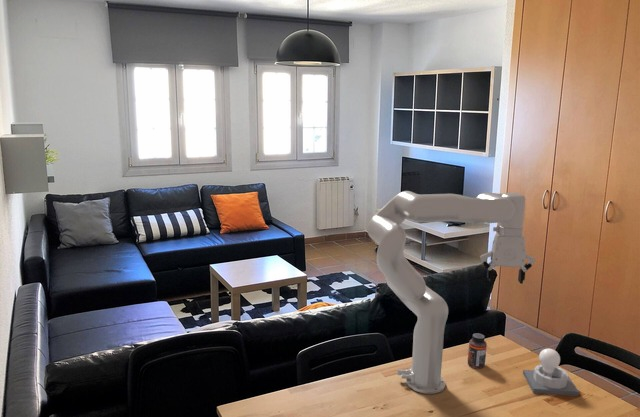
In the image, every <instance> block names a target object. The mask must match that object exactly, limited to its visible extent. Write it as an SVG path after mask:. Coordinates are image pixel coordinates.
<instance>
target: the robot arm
mask: <svg viewBox="0 0 640 417" xmlns="http://www.w3.org/2000/svg"><path fill="white" fill-rule="evenodd" d="M525 209H526V197H525V195H523V194H522V193H517V192H505V193H496V192H482V193H480V194H478V195H477V196H476V197H470V196H466V195H463V194H459V193H458V194H456V193H432V194H426V193H425V194H418V193H416V192H414V191H410V190H404V191H401V192H399V193H398V194H396V195H395V196H393V197H392V198H391V199H390V200H388V202H386V204H385V205H384V206H382V207H381V208H380V209H379V210H378V211H377V212H376V213H375V214H374V215H373V216H372V217H371V218H370V220H369V221H368V224H367V227H366V230H367V234H368V236H369V238H370V239H371V240H372V241H373V242H374V243H376V244H378V246H377V250H376V260H375V261H376V265H377V267H378V269H379V271H380V272H381V274H382V275H383V276H384V277H385V282H386V285H387V286H388V287H389V288H390V290H391V291H392V292H393V293H394V294H395V295H396V296H397V297H398V298H399V300H400V301H401V302H402V303H403V304H404V305H405V306H406V307H407V308H408V309H409V310H410V311H412V312H411V313H413V314H414V315H415V316H416V317H417V321H416V323H415V326H414V329H413V337H412V340H413V342H412V354H411V355H412V356H411V357H412V358H411V359H412V360H411V365H410V366H409V368H406V369H402V368H401V369H400V368H398V369H397V370H396V371H397V373H396V374H397V376H400V377H401V379H404V380H405V379H406V380H405V382H406V385H407V386H408V387H409V388H410V389H411V390H413V391H414V392H417V393H421V394H424V395H426V394H427V395H433V394H434V395H435V394H438V393H440V392H443V390H445V388H446V380H445V379H444V377H442V369H443V368H442V366H443V352H444V351H443V350H444V334H445V328H446V322H447V320H448V315H449V306H448V304H447V302H446V301H445V299H444V298H443V297H442V296H440V295H439V294H438V293H437V292H435V291H434V290H433V289H431V288H430V287H429V286H428V285H426V281H425V279H424V277H423V276H422V275H421V274H420V273H419V272H418V271H417V269H416V268H415V267H414V266H413V265H412V264H411V263H410V262H409V261H408V259H407V258H406V257H405V255H404V249H405V246H406V242H407V234H406V231H405V229H404V228H403V226H402V225H401V224H403V222H404V221H405V220H408V221H410V222H411V223H417V224H418V223H419V224H421V223H441V222H455V223H456V222H458V223H472V224H473V223H475V224H497V226H495V227H493V228H492V230H493V232H495V234H494V238H493V241H492V245H491V246H492V247H491V251H488V252H485V253H484V254H481V255H479V258H480V261H481V262H482V264H483V266H484V267H485V268H486V269H487V271H486V279H488V281H489V283H493V280H494V270H493V269H494V268H495V267H504V268H505V267H506V268H519V270H518V278H517V280H518V282H519V284H521V285H523V284H524V281H525V279H526V272H527V271H528V270H529V269H531V268H532V265H534V263H535V262H536V258H535V257H533V256H532V255H529V254H528V253H527V252H526V238H525V235H523V229H524V219H525V211H526V210H525ZM488 258H490V262H489V263H488V262H487V259H488ZM526 259H527V261H528V262H526Z"/></svg>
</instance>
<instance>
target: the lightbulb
mask: <svg viewBox="0 0 640 417" xmlns="http://www.w3.org/2000/svg"><path fill="white" fill-rule="evenodd" d="M538 359H539V362H540V365H542V367H543V375H544V376H547V377H551V378H552V373H553V371H554V369H555V368H556V367H559V365H560V363H561V356H560V354H559V353H558V351H556V350H555V349H554V348H545V349H542V350H541V351H540V352H539V356H538Z"/></svg>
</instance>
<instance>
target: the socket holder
mask: <svg viewBox="0 0 640 417" xmlns="http://www.w3.org/2000/svg"><path fill="white" fill-rule="evenodd" d="M522 374H523V377H524V378H525V381H526V382H527V384H528V385H529V388H530V390H531V392H532V393H533V394H545V395H557V396H558V395H559V396H571V397H572V396H573V397H575V396H576V397H579V395H580V391H579V389H578V388H577V387H576V385H575V384H574V382H573V381H572V379H571V378H570V376H569V373H568V372H567V371H566V370H564V369H563V368H562V367H559V366H557V367H556V368H555V369H554V371H553V373H552V378H551V377H547V376H544V375H543V367H542V365H541V364H538V365H536V366H535V367H534V369H522Z"/></svg>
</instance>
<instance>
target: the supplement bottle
mask: <svg viewBox="0 0 640 417" xmlns="http://www.w3.org/2000/svg"><path fill="white" fill-rule="evenodd" d="M487 344H488V343H487V342H486V340H485V335H484V334H482V333H479V332H478V333H476V332H475V333H473V334H472V337H471V339H470V340H469V342H468V353H467V365H468V366H469V367H471V368H474V369H482V368H484V367H485V366H486V357H487V346H488V345H487Z"/></svg>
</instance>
